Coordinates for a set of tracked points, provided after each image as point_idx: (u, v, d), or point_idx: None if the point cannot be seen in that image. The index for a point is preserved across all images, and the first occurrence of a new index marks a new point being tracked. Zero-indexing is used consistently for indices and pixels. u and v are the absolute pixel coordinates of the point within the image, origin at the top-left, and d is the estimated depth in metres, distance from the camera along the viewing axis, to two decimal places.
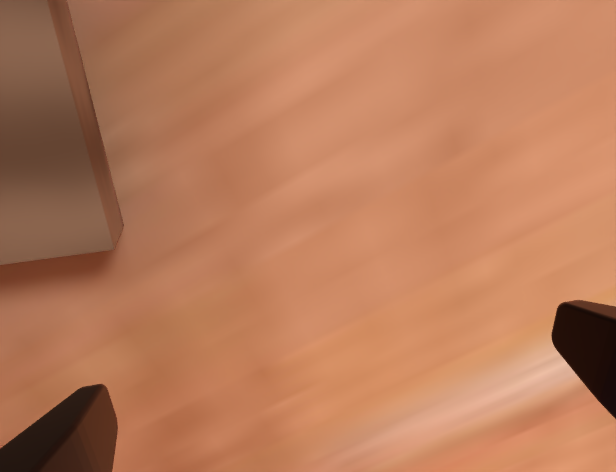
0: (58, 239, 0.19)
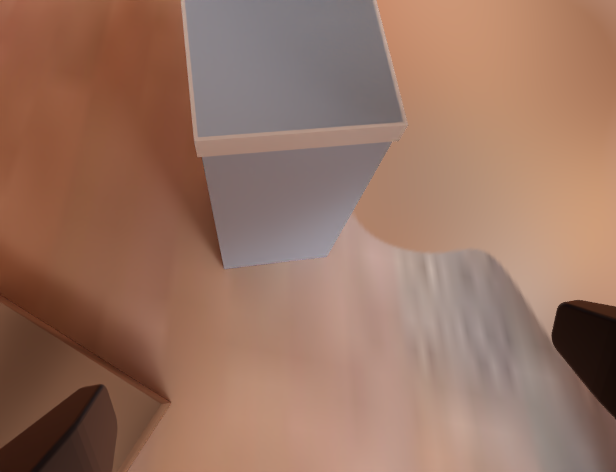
0: None
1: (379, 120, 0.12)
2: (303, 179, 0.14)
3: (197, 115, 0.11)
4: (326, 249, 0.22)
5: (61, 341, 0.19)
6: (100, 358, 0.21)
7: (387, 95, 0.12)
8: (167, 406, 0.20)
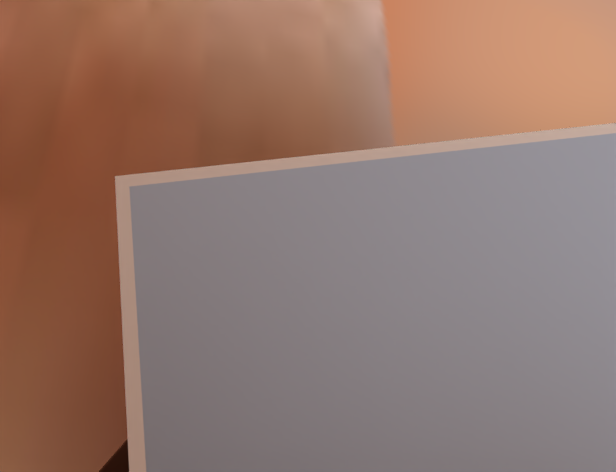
0: None
1: None
2: None
3: None
4: None
5: None
6: None
7: None
8: None
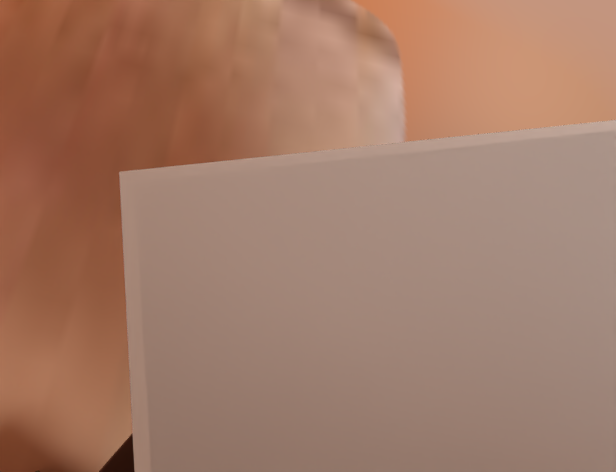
0: None
1: None
2: None
3: None
4: None
5: None
6: None
7: None
8: None
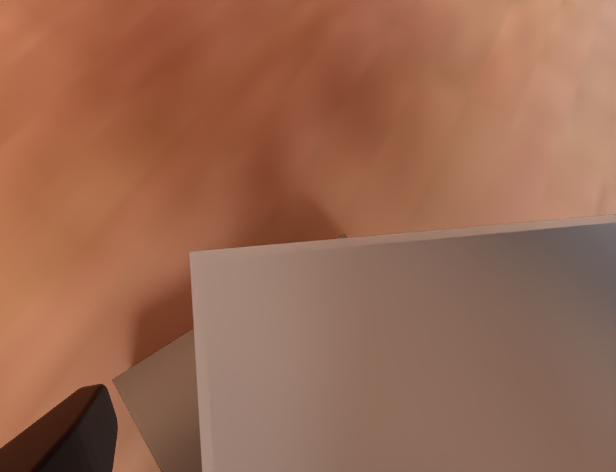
0: (176, 365, 0.16)
1: None
2: None
3: None
4: None
5: None
6: None
7: None
8: None
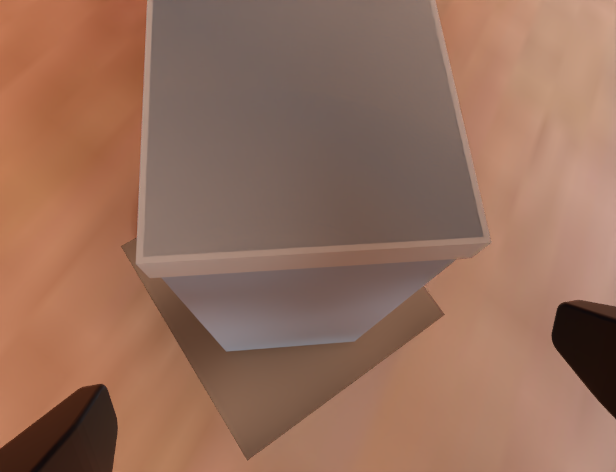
0: None
1: (444, 233, 0.07)
2: (321, 290, 0.10)
3: (147, 219, 0.07)
4: (354, 337, 0.18)
5: None
6: None
7: (457, 190, 0.07)
8: None
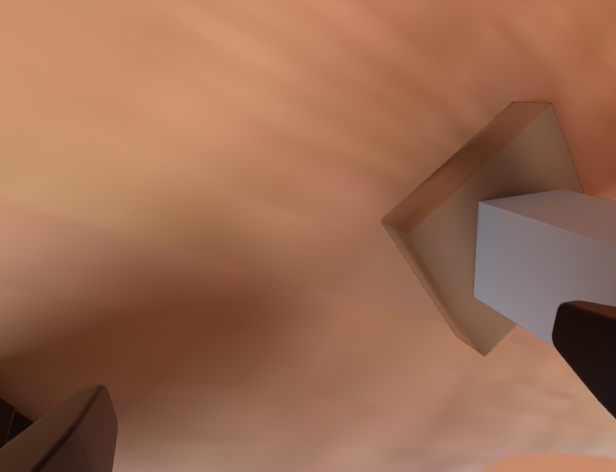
0: (553, 145, 0.24)
1: None
2: None
3: None
4: (490, 302, 0.23)
5: None
6: None
7: None
8: (459, 337, 0.28)
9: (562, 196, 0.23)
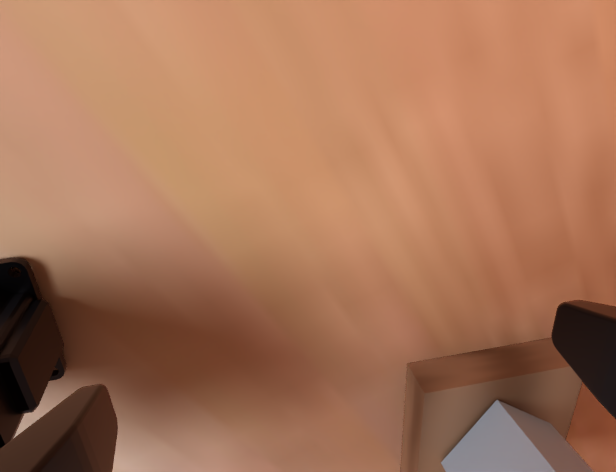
0: (568, 391, 0.27)
1: None
2: None
3: None
4: None
5: None
6: None
7: None
8: None
9: (552, 434, 0.27)
